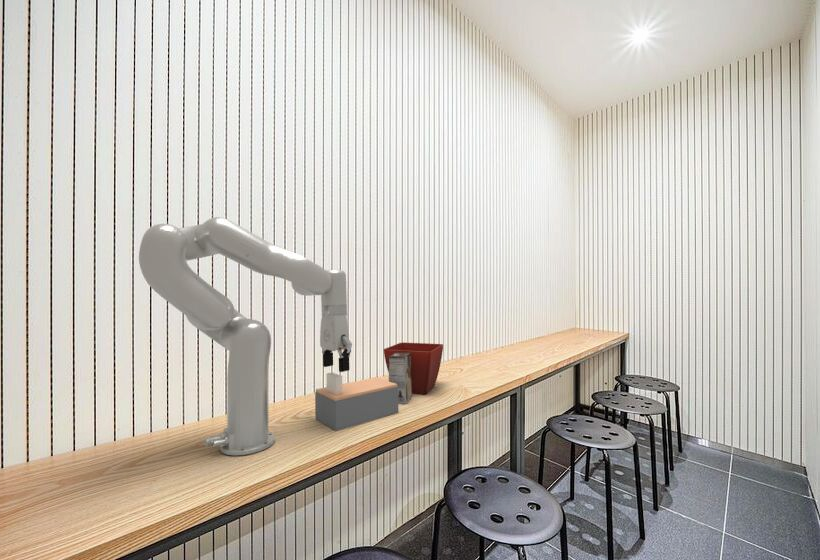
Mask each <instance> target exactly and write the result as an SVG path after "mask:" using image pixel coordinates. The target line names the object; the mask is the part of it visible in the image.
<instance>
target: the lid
mask: <svg viewBox="0 0 820 560" xmlns="http://www.w3.org/2000/svg"><path fill="white" fill-rule="evenodd" d="M394 387H397V384H395V383H392V382H389V380H384V379H382V378H379V377H370V378H366V379H361V380H356V381H351V382H345V383H343V375H341V374H338V373H335V372H328V373H326V386H325V387H322V388H316V389H315V392H317V393H319V394H321V395H323V396H325V397H328V398H330V399H332V400H334V401H338V400H342V399H347V398H351V397H355V396H360V395H364V394H368V393H372V392H377V391H381V390H385V389H390V388H394Z"/></svg>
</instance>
